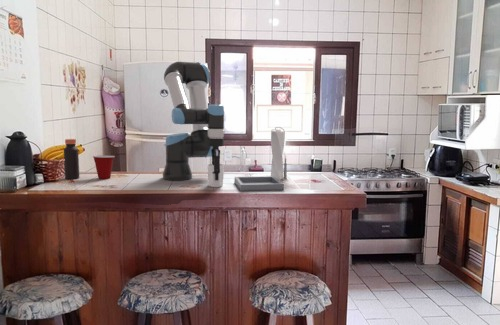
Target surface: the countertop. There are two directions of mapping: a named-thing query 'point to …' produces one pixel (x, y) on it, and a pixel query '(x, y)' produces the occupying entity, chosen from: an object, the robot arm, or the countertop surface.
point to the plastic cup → (103, 166)
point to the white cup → (211, 175)
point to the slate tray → (259, 183)
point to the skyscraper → (278, 154)
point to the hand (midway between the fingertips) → (215, 185)
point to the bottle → (71, 159)
